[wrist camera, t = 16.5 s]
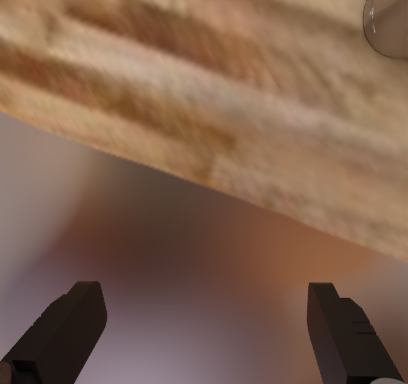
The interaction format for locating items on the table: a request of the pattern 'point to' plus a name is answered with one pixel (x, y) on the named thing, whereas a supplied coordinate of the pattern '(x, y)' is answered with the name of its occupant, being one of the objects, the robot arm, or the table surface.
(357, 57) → the table surface
